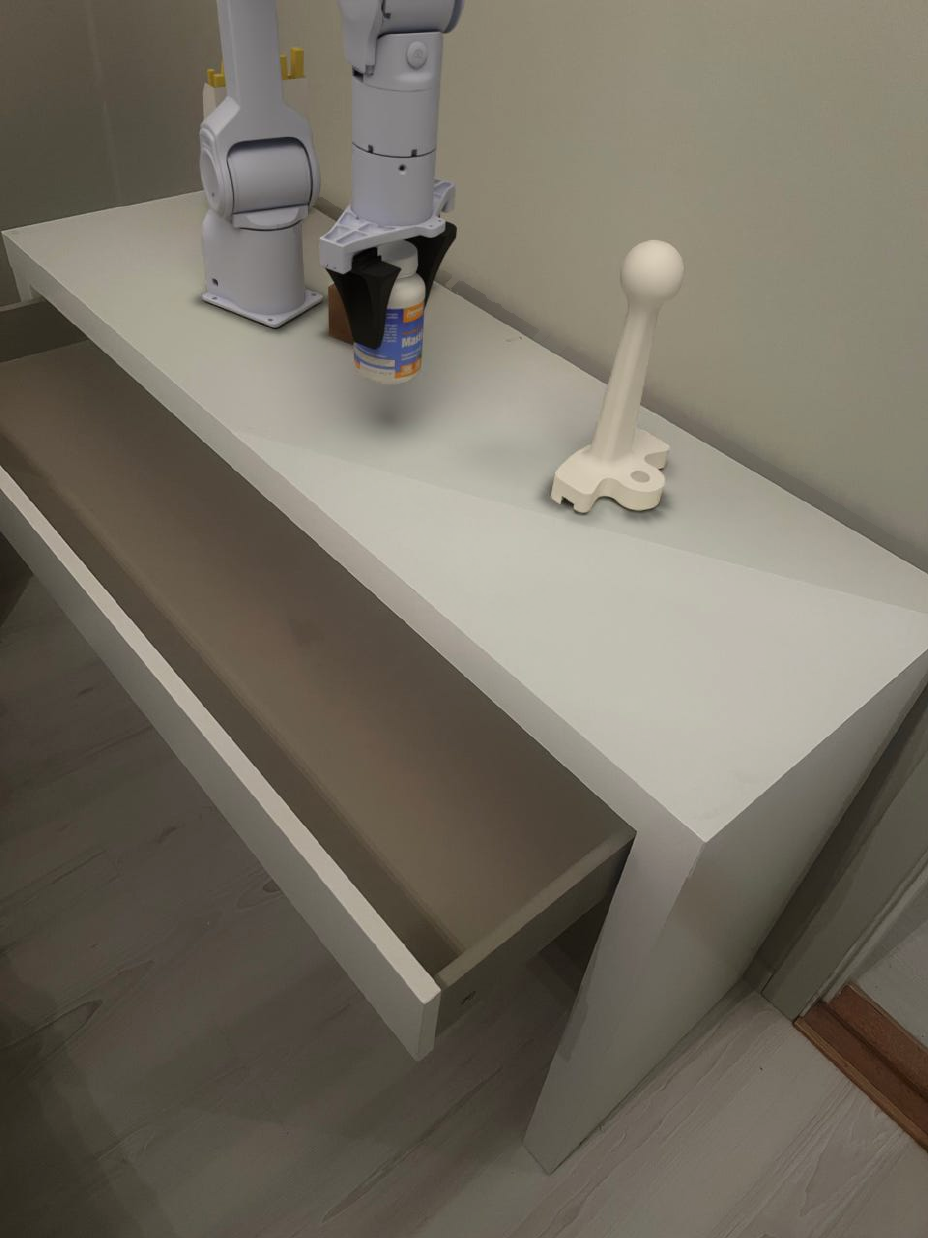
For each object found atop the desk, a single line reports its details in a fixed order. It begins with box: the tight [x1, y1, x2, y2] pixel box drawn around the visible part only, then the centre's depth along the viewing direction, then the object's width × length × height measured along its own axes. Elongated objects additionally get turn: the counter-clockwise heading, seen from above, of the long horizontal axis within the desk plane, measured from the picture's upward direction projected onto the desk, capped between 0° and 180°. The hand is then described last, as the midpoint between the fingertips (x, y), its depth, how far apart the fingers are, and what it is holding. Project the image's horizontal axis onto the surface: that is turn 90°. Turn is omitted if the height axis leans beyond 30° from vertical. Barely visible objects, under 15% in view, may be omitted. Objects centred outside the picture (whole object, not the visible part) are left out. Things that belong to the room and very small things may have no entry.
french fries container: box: [202, 47, 310, 124], centre depth 103 cm, size 5×11×18 cm, turn 127°
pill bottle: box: [353, 240, 426, 385], centre depth 71 cm, size 5×5×10 cm
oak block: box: [327, 283, 354, 346], centre depth 90 cm, size 5×5×5 cm
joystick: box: [550, 239, 685, 513], centre depth 70 cm, size 11×8×20 cm
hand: (388, 329), depth 72 cm, fingers closed on pill bottle, 5 cm apart
